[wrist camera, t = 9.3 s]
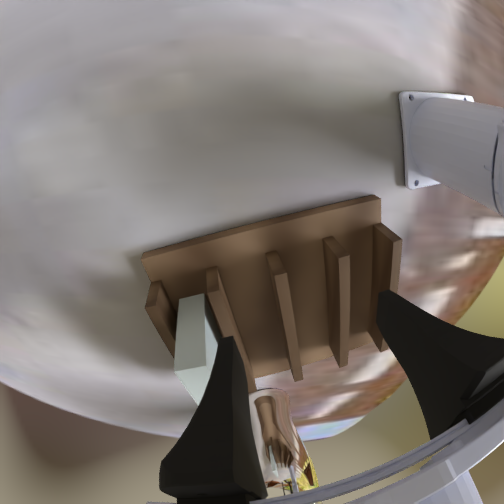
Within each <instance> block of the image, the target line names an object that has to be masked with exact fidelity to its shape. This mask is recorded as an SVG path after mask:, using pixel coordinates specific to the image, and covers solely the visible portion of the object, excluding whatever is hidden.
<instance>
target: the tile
mask: <svg viewBox="0 0 504 504" xmlns="http://www.w3.org/2000/svg"><path fill="white" fill-rule="evenodd" d="M220 338H222V336H221V334H220V332H219V329H218V327H217V324H216V322H215V319H214V317H213V314H212V312H211V309H210V307H209V304H208V302H207V299H206V297H205V294H204V293H203V294H198V295H194V296H190V297H186V298H182V299H179V307H178V318H177V330H176V344H175V359H174V373H175V374H176V376H177V377H178V378H179V380H180V381H181V383H182V384H183V386H184V387H185V388H186V390H187V391H188V393H189V394H190V395H191V397H192V398H193V399H194V401H195V402H196V404H197V405H198V406H199V403H200V401H201V399H202V397H203V394H204V392H205V389H206V386H207V383H208V381H209V378H210V375H211V371H212V368H213V364H214V361H215V357H216V352H217V347H218V341H219V339H220Z"/></svg>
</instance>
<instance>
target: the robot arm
mask: <svg viewBox="0 0 504 504" xmlns="http://www.w3.org/2000/svg"><path fill="white" fill-rule="evenodd" d="M409 95H410V97H411V99H409ZM399 102H400V110H401V119H402V129H403V142H404V159H405V185H406V187H407V188H408V189H416V188H421V187H426V186H431V185H435V184H440V183H441V184H443V185H445V186H448V187H450V188H452V189H454V190H456V191H458V192H460V193H462V194H464V195H466V196H467V197H469V198H471V199H473V200H475V201H477V202H479V203H481V204H482V205H484V206H486V207H488V208H489V209H491V210H493V211H495V212H496V213H498V214H500V215H501V216H503V217H504V108H503V107H498V106H493V105H488V104H483V103H477V102H474V100H473V98H472V96H468V95H459V94H449V93H436V92H415V91H402V92H400V94H399ZM415 180H416V183H415V184H414V182H415ZM376 324H377V326H378V328H379V330H380V332H381V334H382V336H383V338H384V340H385V341H386V343H387V345H388V346H389V348H390V349H391V351H392V352H393V354H394V355H395V357H396V358H397V360H398V361H399V363H400V365H401V366H402V368H403V369H404V371H405V373H406V374H407V376H408V378H409V380H410V382H411V385H412V387H413V389H414V391H415V394H416V396H417V398H418V401H419V404H420V406H421V409H422V412H423V415H424V418H425V421H426V425H427V428H428V432H429V435H430V441H428V442H427V443H425V444H423V445H421V446H419V447H417V448H416V449H414V450H412V451H410V452H408V453H406V454H404V455H402V456H400V457H397V458H395V459H393V460H391V461H389V462H387V463H384V464H382V465H380V466H377V467H375V468H372V469H370V470H367V471H365V472H362V473H360V474H357V475H355V476H352V477H349V478H346V479H343V480H340V481H337V482H334V483H331V484H327V485H324V486H321V487H317V488H313V489H310V490H306V491H302V492H298V493H293V494H289V495H284V496H279V497H274V498H268V499H266V498H267V496H268V492H267V489H266V485H265V482H264V478H263V474H262V470H261V466H260V462H259V458H258V453H257V449H256V444H255V440H254V435H253V430H252V424H251V416H250V405H249V393H248V382H247V377H246V372H245V367H244V362H243V360H242V357H241V355H240V352H239V350H238V347H237V344H236V342H235V339H234V337H233V336H229V337H224V338H220V339H219V341H218V347H217V352H216V357H215V361H214V364H213V368H212V371H211V375H210V378H209V381H208V383H207V386H206V389H205V392H204V394H203V397H202V399H201V401H200V403H199V406H198V408H197V410H196V412H195V414H194V416H193V417H192V419H191V421H190V423H189V425H188V426H187V428H186V429H185V431H184V432H183V434H182V435H181V437H180V438H179V440H178V441H177V443H176V444H175V446H174V447H173V448H172V449H171V451H170V452H169V453H168V454H167V455H166V457H165V458H164V459H163V460H162V461H161V466H160V473H159V488H160V490H161V491H162V492H164V493H166V494H168V495H170V496H173V497H175V498H177V504H314V503H317V502H321V501H324V500H328V499H331V498H334V497H337V496H341V495H343V494H347V493H350V492H352V491H355V490H358V489H361V488H363V487H366V486H368V485H371V484H373V483H375V482H378V481H381V480H383V479H385V478H388V477H390V476H392V475H394V474H396V473H398V472H400V471H403V470H405V469H406V468H408V467H410V466H413V465H414V464H416V463H418V462H420V461H422V460H424V459H426V458H427V457H429V456H431V455H432V454H434V453H436V452H438V451H439V450H441V449H443V448H444V447H446V446H447V447H446V448H444V449H443V450H442V451H440V452H439V453H437V454H436V455H434V456H433V457H432V458H431V459H430V460H429V461H428V462H427V463H426V464H424V465H423V466H422V467H421V468H420V471H418V472H416V473H414V474H412V475H410V476H408V477H406V478H404V479H402V480H400V481H398V482H396V483H393V484H391V485H389V486H387V487H385V488H382V489H380V490H378V491H376V492H373V493H371V494H368V495H366V496H363V497H361V498H358V499H356V500H353V501H350V502H348V503H345V504H483V503H482V500H481V498H480V496H479V493H478V491H477V489H476V487H475V484H474V482H473V480H472V478H471V476H470V474H469V472H468V470H469V469H470V468H472V467H473V466H475V465H476V464H477V463H478V462H480V461H481V460H482V459H484V458H485V457H486V456H487V455H488V454H490V453H491V452H492V451H493V450H494V449H495V448H497V447H498V446H499V445H500V444H501V443H502V442H504V339H503V338H495V337H489V336H485V335H481V334H477V333H473V332H470V331H467V330H464V329H461V328H459V327H456V326H454V325H451V324H449V323H447V322H445V321H443V320H440V319H439V318H437V317H435V316H433V315H431V314H429V313H427V312H426V311H424V310H422V309H420V308H419V307H417V306H415V305H414V304H412V303H410V302H409V301H407V300H406V299H404V298H402V297H401V296H399V295H398V294H396V293H394V292H393V291H391V290H389V289H388V290H385V291H382V292H380V293H378V305H377V315H376ZM146 504H176V503H165V502H147V503H146Z"/></svg>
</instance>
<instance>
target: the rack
mask: <svg viewBox="0 0 504 504" xmlns="http://www.w3.org/2000/svg"><path fill="white" fill-rule="evenodd" d="M401 251H402V239H401V238H400V237H399V236H397V235H396V234H395V233H394V232H392V231H391V230H390V229H389V228H387V227H386V226H385V225H384V224H382V223H381V199H380V198H379V197H377V196H375V195H370V196H366V197H361V198H357V199H353V200H348V201H344V202H339V203H335V204H331V205H326V206H322V207H318V208H314V209H309V210H305V211H301V212H297V213H293V214H289V215H285V216H281V217H276V218H272V219H268V220H264V221H260V222H256V223H253V224H249V225H245V226H241V227H237V228H233V229H229V230H225V231H222V232H218V233H214V234H210V235H206V236H203V237H199V238H195V239H192V240H188V241H184V242H181V243H177V244H173V245H170V246H166V247H163V248H159V249H155V250H152V251H148V252H145V253H143V255H142V258H141V261H142V263H143V266H144V268H145V270H146V272H147V275H148V277H149V279H150V281H151V285H150V289H149V293H148V297H147V301H146V305H145V309H146V311H147V313H148V315H149V317H150V319H151V320H152V322H153V324H154V326H155V327H156V329H157V331H158V333H159V334H160V336H161V338H162V340H163V341H164V343H165V345H166V346H167V348H168V350H169V351H170V353H171V354H172V356H173V358H174V359H175V344H176V330H177V318H178V307H179V299H182V298H186V297H190V296H194V295H198V294H203V293H204V294H205V297H206V299H207V302H208V304H209V307H210V309H211V312H212V314H213V317H214V319H215V322H216V324H217V327H218V329H219V332H220V334H221V336H222V338H224V337H229V336H233V337H234V339H235V342H236V344H237V347H238V350H239V352H240V355H241V357H242V360H243V362H244V367H245V372H246V377H247V382H248V393H253V392H257V389H256V384H255V379H254V378H258V377H263V376H267V375H271V374H274V373H278V372H282V371H286V370H289V369H291V372H292V375H293V378H294V381H295V382H296V381H299V380H303V374H302V367H301V366H303V365H307V364H310V363H313V362H316V361H319V360H323V359H326V358H329V357H332V356H334V357H335V359H336V361H337V363H338V365H339V368H340V367H343V366H346V365H348V351H349V350H352V349H355V348H358V347H360V346H363V345H366V344H368V343H371V342H373V341H374V343H375V344H376V346H377V347H378V349H379V351H380V352H383V351H385V350H387V349H388V345H387V343H386V341H385V340H384V338H383V336H382V334H381V332H380V330H379V328H378V326H377V324H376V315H377V305H378V293H380V292H382V291H385V290H388V289H389V290H391V291H393V292H394V293H396V294H397V290H398V282H399V273H400V263H401Z"/></svg>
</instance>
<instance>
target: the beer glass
mask: <svg viewBox="0 0 504 504" xmlns="http://www.w3.org/2000/svg"><path fill="white" fill-rule="evenodd" d="M249 405H250V416H251V424H252V430H253V435H254V440H255V444H256V449H257V453H258V458H259V462H260V466H261V470H262V474H263V478H264V482H265V485H266V489H267V492H268V496H267V498H266V499H268V498H274V497H279V496H284V495H289V494H293V493H298V492H302V491H306V490H310V489H313V488H317V487H319V484H318V480H317V476H316V472H315V469H314V466H313V463H312V460H311V458H310V456H309V454H308V452H307V449H306V448H305V446H304V444H303V442H302V440H301V438H300V436H299V434H298V432H297V430H296V428H295V426H294V423H293V421H292V417H291V409H290V397H289V395H288V393H286V392H285V391H283V390H280V389H263V390H259V391H257V392H253V393H251V394H249ZM314 504H322V501H321V502H317V503H314Z"/></svg>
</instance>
